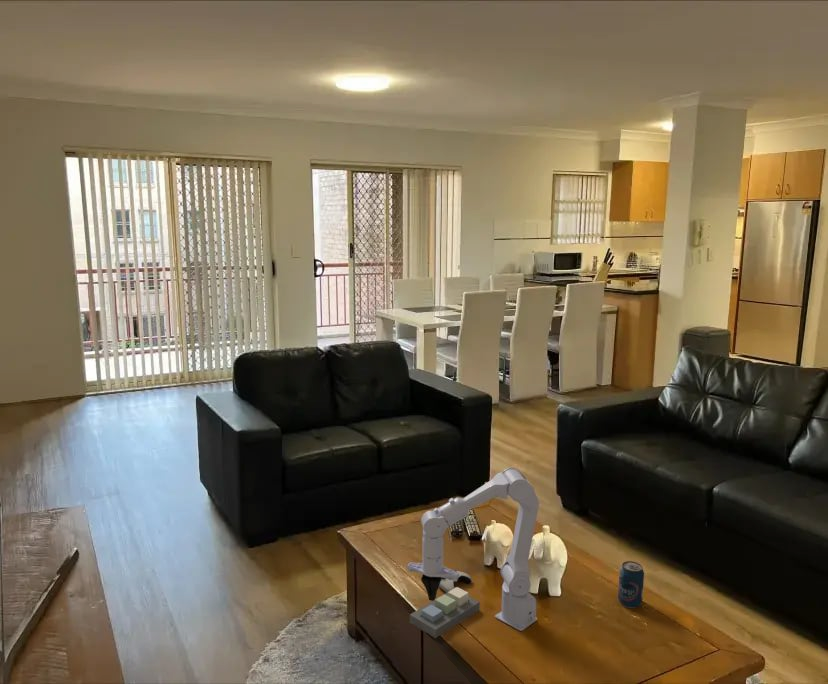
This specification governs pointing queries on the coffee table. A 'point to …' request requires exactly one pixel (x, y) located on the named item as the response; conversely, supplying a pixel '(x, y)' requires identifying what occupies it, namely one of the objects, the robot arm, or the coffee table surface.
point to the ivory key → (459, 596)
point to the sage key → (445, 604)
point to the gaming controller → (449, 583)
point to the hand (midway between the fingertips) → (432, 598)
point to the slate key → (432, 614)
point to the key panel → (444, 618)
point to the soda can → (631, 584)
